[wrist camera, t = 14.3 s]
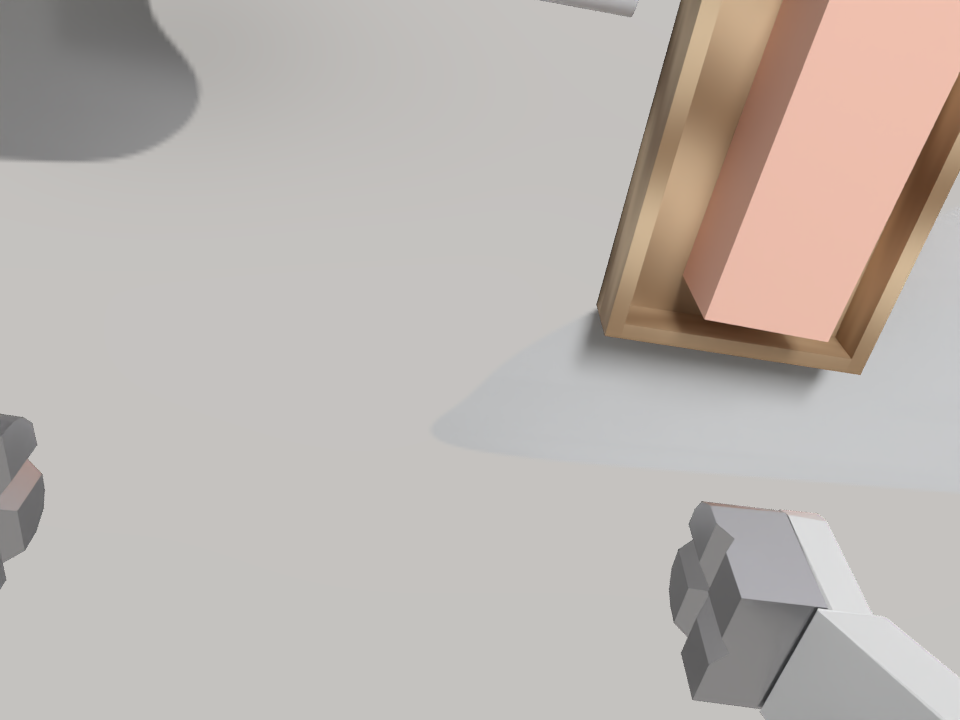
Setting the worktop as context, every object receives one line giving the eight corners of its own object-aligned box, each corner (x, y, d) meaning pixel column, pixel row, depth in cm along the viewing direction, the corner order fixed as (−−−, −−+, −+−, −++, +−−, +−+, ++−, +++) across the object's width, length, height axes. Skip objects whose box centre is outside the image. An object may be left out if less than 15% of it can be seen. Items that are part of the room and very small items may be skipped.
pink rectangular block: (798, -42, 26) (840, -29, 23) (932, -11, 26) (991, 7, 23) (682, 275, 31) (704, 319, 28) (794, 296, 32) (827, 342, 29)
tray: (723, -154, 25) (746, -155, 23) (1032, -88, 26) (1083, -84, 23) (596, 304, 33) (604, 335, 31) (835, 342, 34) (860, 374, 31)
